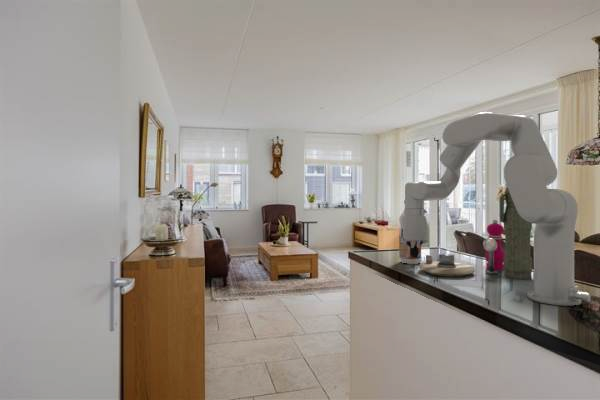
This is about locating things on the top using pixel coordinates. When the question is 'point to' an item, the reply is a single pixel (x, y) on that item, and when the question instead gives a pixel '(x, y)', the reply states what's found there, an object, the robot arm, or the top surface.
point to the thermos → (515, 241)
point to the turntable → (433, 268)
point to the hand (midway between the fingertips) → (414, 257)
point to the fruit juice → (406, 248)
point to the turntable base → (446, 275)
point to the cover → (446, 261)
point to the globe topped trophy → (490, 253)
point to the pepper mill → (495, 233)
